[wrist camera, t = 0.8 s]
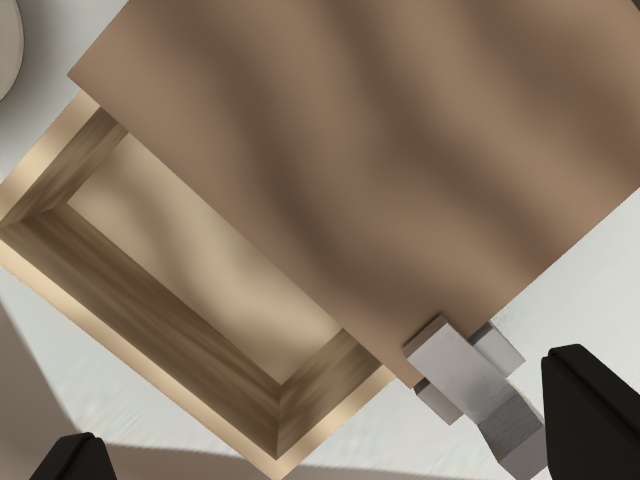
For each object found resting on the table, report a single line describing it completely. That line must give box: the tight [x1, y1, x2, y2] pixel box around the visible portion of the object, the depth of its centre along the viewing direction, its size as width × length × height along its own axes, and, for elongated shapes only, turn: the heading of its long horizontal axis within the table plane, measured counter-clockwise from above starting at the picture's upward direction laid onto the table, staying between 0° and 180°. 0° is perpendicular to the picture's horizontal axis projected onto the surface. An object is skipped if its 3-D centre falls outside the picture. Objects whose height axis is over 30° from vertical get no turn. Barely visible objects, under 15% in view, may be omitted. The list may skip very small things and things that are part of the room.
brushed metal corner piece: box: [402, 314, 548, 480], centre depth 27 cm, size 3×8×4 cm, turn 45°
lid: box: [67, 0, 640, 389], centre depth 27 cm, size 23×25×6 cm
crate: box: [0, 89, 526, 480], centre depth 33 cm, size 20×28×11 cm
